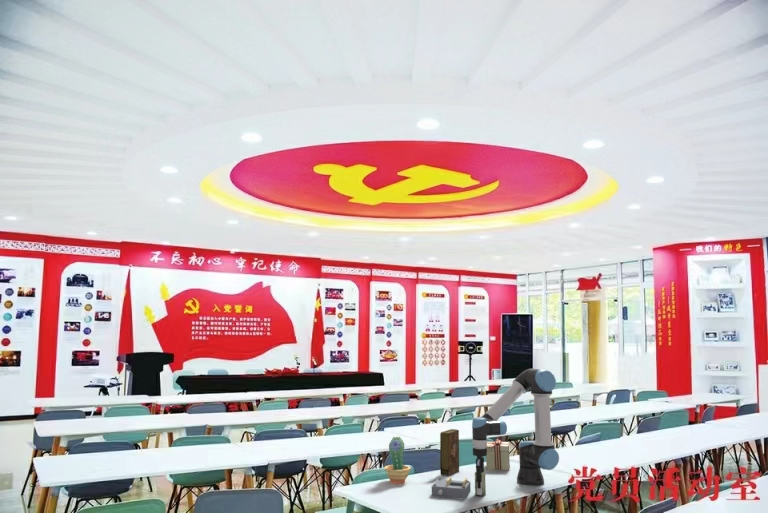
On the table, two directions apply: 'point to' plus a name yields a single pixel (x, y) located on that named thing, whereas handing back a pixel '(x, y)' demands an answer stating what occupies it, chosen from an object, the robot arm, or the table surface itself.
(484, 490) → the spout can
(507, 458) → the gift box
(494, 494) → the table surface
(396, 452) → the potted cactus
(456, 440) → the book
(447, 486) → the grey shallow box
